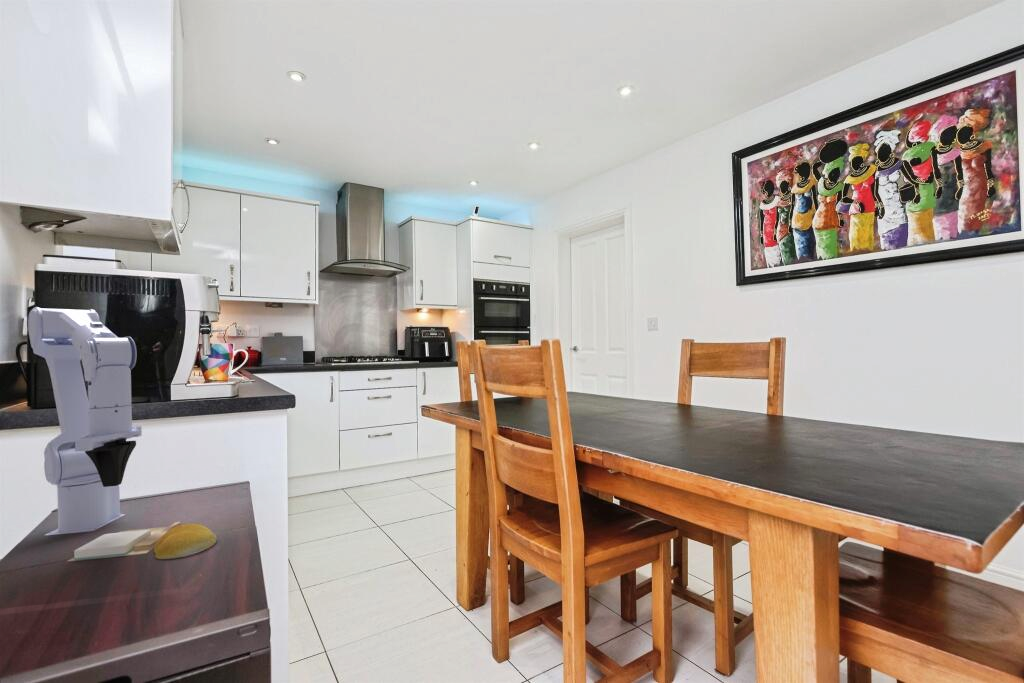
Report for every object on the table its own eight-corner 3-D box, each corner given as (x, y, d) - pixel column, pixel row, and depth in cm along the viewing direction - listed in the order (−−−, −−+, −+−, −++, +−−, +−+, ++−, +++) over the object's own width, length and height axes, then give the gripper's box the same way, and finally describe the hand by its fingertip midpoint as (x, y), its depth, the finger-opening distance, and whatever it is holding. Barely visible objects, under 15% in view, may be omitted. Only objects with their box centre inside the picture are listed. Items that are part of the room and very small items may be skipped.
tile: (104, 534, 81) (74, 550, 74) (150, 529, 82) (125, 545, 75) (104, 542, 81) (74, 560, 74) (150, 538, 82) (125, 555, 75)
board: (120, 534, 86) (120, 531, 86) (187, 528, 88) (187, 524, 88) (66, 565, 74) (66, 561, 74) (146, 556, 75) (146, 553, 75)
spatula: (170, 527, 87) (170, 522, 87) (185, 525, 88) (185, 521, 88) (133, 551, 76) (133, 546, 76) (151, 549, 77) (151, 544, 77)
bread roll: (158, 569, 71) (157, 542, 71) (152, 552, 78) (152, 527, 78) (221, 552, 77) (221, 526, 77) (211, 537, 83) (211, 514, 83)
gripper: (110, 409, 76) (112, 495, 76) (158, 401, 91) (160, 473, 90) (59, 412, 75) (60, 499, 75) (116, 403, 89) (118, 476, 89)
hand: (112, 485), depth 83 cm, fingers closed
